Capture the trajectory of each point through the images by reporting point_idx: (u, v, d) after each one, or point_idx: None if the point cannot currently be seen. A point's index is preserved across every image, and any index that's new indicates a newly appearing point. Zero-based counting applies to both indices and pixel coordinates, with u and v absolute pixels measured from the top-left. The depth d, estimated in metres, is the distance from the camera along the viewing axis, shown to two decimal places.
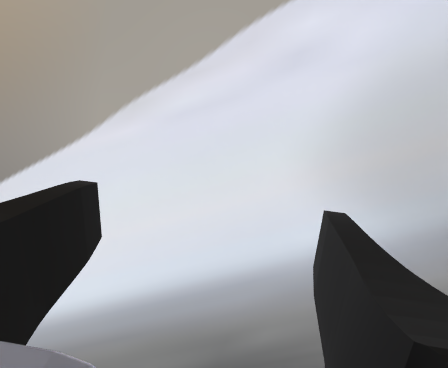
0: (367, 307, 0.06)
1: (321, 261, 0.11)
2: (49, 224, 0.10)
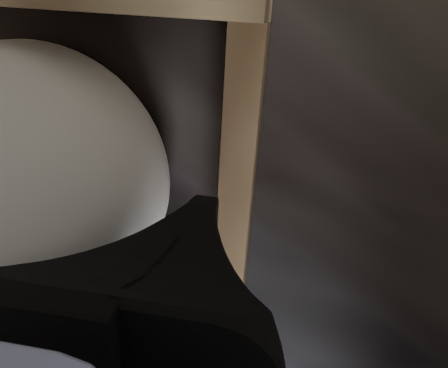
0: None
1: None
2: None
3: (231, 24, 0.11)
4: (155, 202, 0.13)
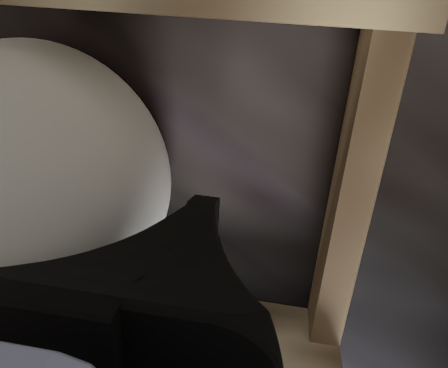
0: None
1: None
2: None
3: (376, 33, 0.11)
4: (156, 202, 0.13)
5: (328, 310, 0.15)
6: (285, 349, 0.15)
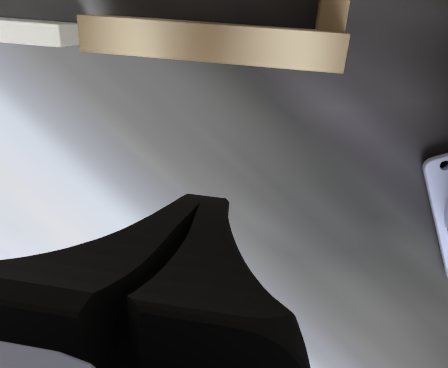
0: None
1: None
2: (181, 242, 0.09)
3: None
4: None
5: None
6: (294, 29, 0.16)
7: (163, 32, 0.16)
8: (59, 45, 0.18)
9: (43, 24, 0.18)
